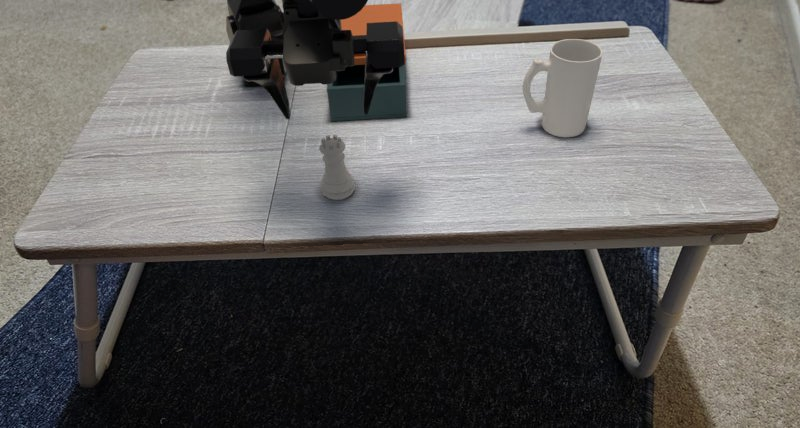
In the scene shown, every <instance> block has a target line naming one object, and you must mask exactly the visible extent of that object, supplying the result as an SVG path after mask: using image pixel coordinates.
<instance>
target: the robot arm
mask: <svg viewBox="0 0 800 428" xmlns="http://www.w3.org/2000/svg"><path fill="white" fill-rule="evenodd" d="M281 3H282V9H281V7H280V5H279V4H278V3H277V2H276V0H227V1H226V4H227V11H228V15H227V16H225V27H226V28H225V30H226V35H227V38H228V40H229V45H228V46H227V49H226V52H225V58H226V59H225V61H226V64H227V68H228V71H229V75H231V76H232V77H243V79H244V80H243V86H244V87H251V86H252V87H253V86H262V88H264V90H265V91H266V92H267V93H268V94H269V96H270V97H271V98H272V101H274V103H275V105H276V106H277V108H278V109H279V110H280V112H281V113H282V115H283V116H284V118H285V119H286V120H290V119H291V115H292V113H291V105H290V100H289V95H288V92H287V88H286V85H285V80H284V77H285V76H286V75H287V78H288V81H289V83H290V84H291V85H292V86H295V87H302V86H305V85H316V84H321V85H327V84H330V83H333V82H334V81H335V80H336V78H337V71H345V67H348V66H354V54H366V62H365V81H364V114H365V115H368V113H369V109H370V105H371V102H372V98H373V95H374V91H375V88H376V86H377V84H378V81H379V79H380V78H381V77H382V75H383V74H389V73H391V72H392V71H393V68H397V67H401V66H403V65H404V66H405V65H406V62H405V56H404V41H405V38H404V39H403V30H404V27H403V28H402V26H401V25H400V24H399V23H398V22H397V21H394V22H377V23H367V35H356V36H352V32H351V30H342V26H341V20H343V19H347V18H350V17H352V16H354V15H356V14H357V13H358V12H359V11H361V10H362V8H363V7H364V6H365V5H367V4H368V0H281ZM282 10H283V11H282Z"/></svg>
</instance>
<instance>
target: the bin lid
mask: <svg viewBox="0 0 800 428" xmlns="http://www.w3.org/2000/svg"><path fill="white" fill-rule="evenodd" d="M402 7H403V6H402V3H400V2H399V3H398V2H397V3H382V4H366V5H365V6H364V7H363V8H362V10H361V11H359V12H358V13H357V14H356V15H354V16H352V17H350V18H347V19H343V20H341V26H342V30H351V32H352V36H356V35H367V23H377V22H394V21H397V22H398V23H399V24H400V25H401V26H402V28H403V39H404V56H405V63H407V55H406V43H405V41H406V40H405V32H404V31H405V29H404V21H403V20H404V19H403V8H402ZM365 62H366V54H354V65H365Z"/></svg>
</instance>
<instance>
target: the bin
mask: <svg viewBox="0 0 800 428" xmlns="http://www.w3.org/2000/svg"><path fill="white" fill-rule="evenodd" d="M405 72H406V71H405V65H403V66H401V67H397V68H393V71H392V72H391V73H389V74H383V75H382V77H381V78H380V79H379V81H378V84H377V86H376V88H375V91H374V95H373V98H372V102H371V105H370V109H369V113H368V115H365V114H364V81H365V65H354V66H348V67H345V71H337V78H336V80H335V81H334V82H333V83H330V84H326V85H327V86H326V93H327V101H328V106H329V113H330V114H329V115H330V121H331V122H343V121H360V120H378V119H379V120H380V119H395V118H396V119H397V118H407V117H408V109H407V106H408V105H407V85H406V73H405Z"/></svg>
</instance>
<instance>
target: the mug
mask: <svg viewBox="0 0 800 428" xmlns="http://www.w3.org/2000/svg"><path fill="white" fill-rule="evenodd" d="M549 48H550V49H549V57H548V59H547V61H546V60H545V61H544V59H541V58H540V59H537V58H534V59H532V63H531V65H530V66H529V69H528V70H527V72H526V74H525V75H524V78H523V81H522V95H523V99H524V101H525V104H526V107H527V110H528V111H529V112H530V113H531V114H534V113H540V114H542V117H541V126H542V128H543V129H544V131H545V132H546V133H547V134H550V135H552V136H555V137H558V138H573V137H577V136H579V135H581V134H582V133H583V132H584V131H585V130H586V126H587V122H588V118H589V114H590V111H591V105H592V100H593V97H594V93H595V92H594V91H595V89H596V84H597V79H598V75H599V71H600V66H601V63H602V57H603V54H604V51H603V49H602V47H601V46H600V45H598V44H597V43H595V42H593V41H590V40H586V39H582V38H581V39H580V38H566V39H560V40H558V41H555V42H554V43H552V45H550V47H549ZM540 72H541V73H542V72H547V74H546V82H545V90H544V97H543V99H542V100H539V101H537V100H535V99H534V98H533V97H532V93H531V84H532V82H533V79H534V78H535V77H536V75H538V74H539V73H540Z"/></svg>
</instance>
